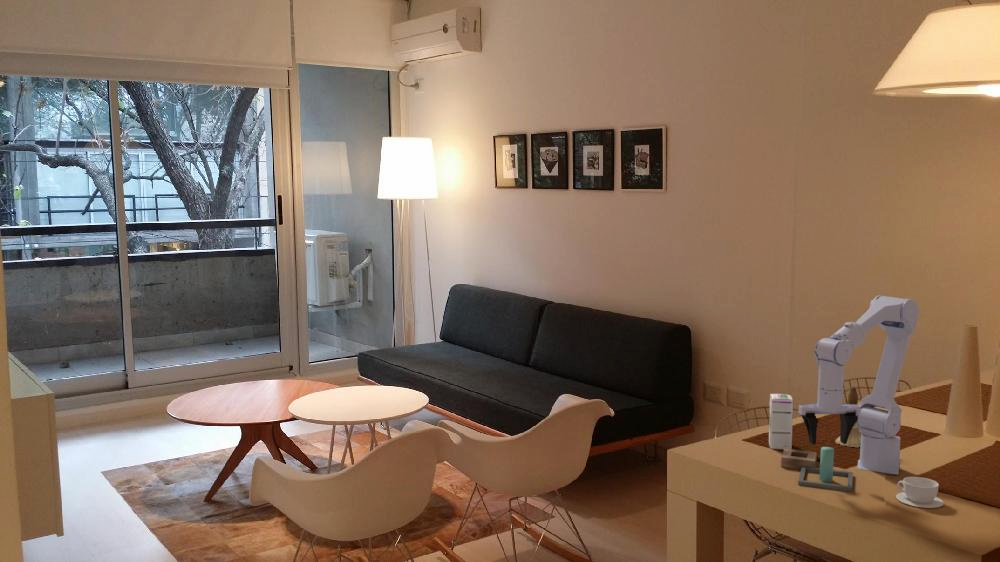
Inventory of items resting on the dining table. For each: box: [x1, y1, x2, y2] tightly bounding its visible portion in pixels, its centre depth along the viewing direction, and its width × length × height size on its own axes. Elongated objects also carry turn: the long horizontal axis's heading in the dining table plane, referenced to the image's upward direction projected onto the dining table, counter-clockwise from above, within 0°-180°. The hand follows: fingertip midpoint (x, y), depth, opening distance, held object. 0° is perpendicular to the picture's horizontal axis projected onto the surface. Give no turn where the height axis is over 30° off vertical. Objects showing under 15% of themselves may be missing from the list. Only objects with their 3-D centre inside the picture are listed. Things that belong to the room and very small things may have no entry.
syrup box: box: [768, 393, 794, 450], centre depth 242 cm, size 6×6×14 cm
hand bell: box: [834, 386, 861, 449], centre depth 246 cm, size 8×8×16 cm
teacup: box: [895, 476, 945, 509], centre depth 204 cm, size 10×10×5 cm
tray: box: [797, 466, 854, 493], centre depth 216 cm, size 12×12×1 cm
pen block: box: [780, 448, 818, 470], centre depth 228 cm, size 8×8×3 cm
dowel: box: [818, 446, 835, 483], centre depth 216 cm, size 3×3×8 cm
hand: (827, 442), depth 215 cm, fingers open, 7 cm apart
